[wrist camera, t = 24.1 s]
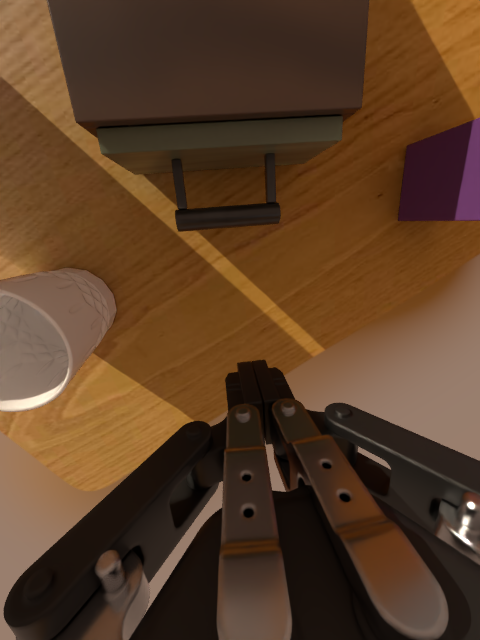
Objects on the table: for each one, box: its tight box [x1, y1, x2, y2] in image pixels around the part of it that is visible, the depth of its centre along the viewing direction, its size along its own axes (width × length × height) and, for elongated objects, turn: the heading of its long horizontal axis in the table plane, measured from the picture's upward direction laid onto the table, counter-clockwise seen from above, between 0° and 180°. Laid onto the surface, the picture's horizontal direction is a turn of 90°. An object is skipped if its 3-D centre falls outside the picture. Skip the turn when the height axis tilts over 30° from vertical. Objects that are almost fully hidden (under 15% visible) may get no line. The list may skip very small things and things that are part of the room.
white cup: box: [0, 268, 117, 412], centre depth 20 cm, size 8×8×10 cm
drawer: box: [96, 115, 343, 232], centre depth 16 cm, size 19×13×7 cm
